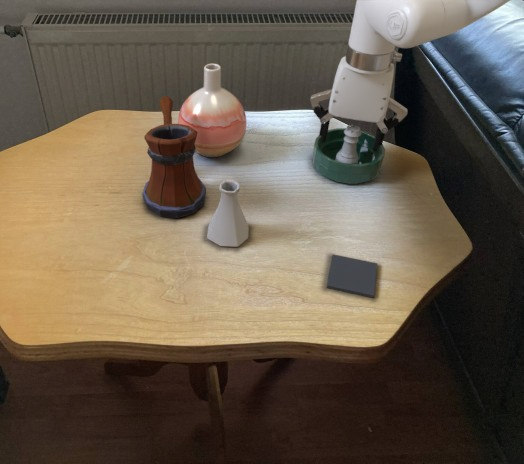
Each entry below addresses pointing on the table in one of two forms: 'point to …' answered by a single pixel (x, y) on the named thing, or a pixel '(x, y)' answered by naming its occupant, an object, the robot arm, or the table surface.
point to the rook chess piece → (349, 146)
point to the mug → (172, 168)
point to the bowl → (346, 172)
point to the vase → (214, 116)
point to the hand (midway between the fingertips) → (349, 143)
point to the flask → (228, 218)
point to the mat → (352, 276)
